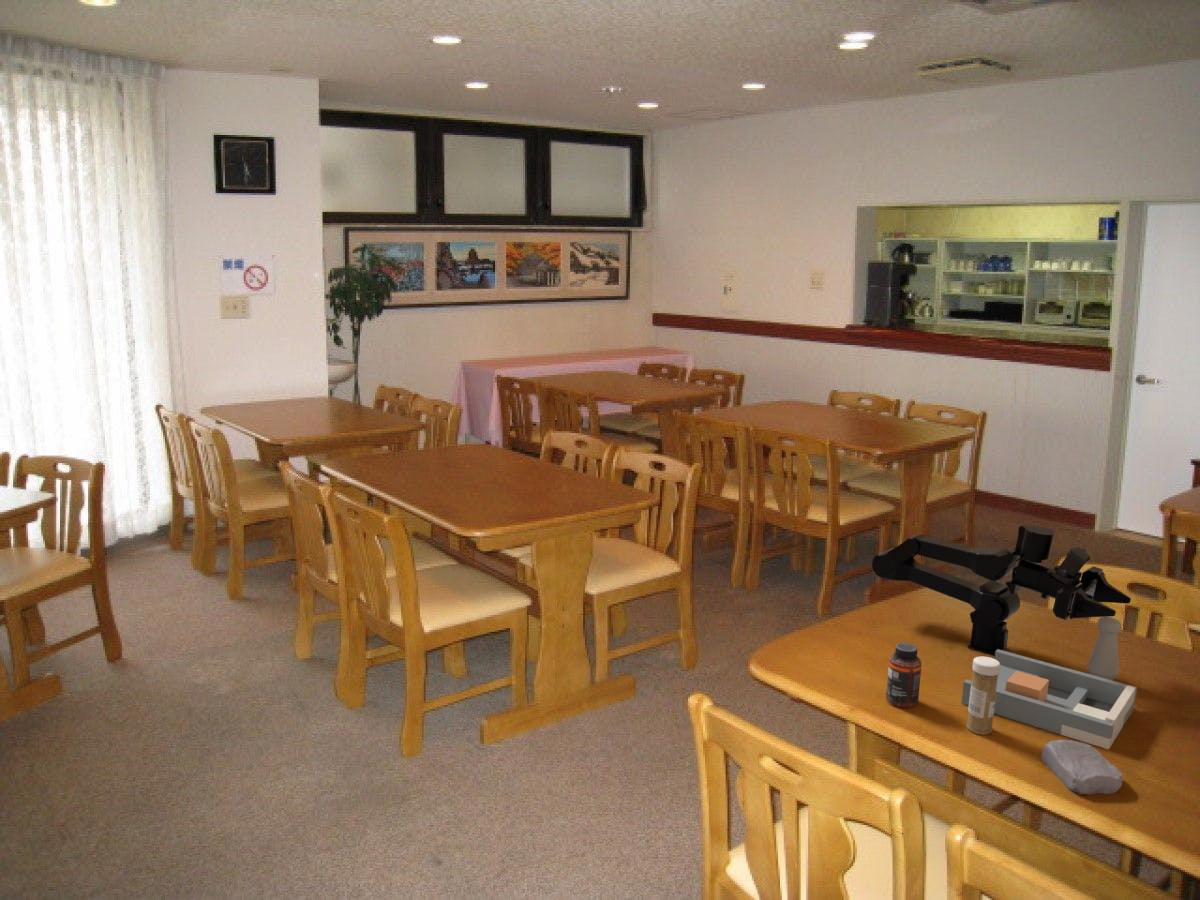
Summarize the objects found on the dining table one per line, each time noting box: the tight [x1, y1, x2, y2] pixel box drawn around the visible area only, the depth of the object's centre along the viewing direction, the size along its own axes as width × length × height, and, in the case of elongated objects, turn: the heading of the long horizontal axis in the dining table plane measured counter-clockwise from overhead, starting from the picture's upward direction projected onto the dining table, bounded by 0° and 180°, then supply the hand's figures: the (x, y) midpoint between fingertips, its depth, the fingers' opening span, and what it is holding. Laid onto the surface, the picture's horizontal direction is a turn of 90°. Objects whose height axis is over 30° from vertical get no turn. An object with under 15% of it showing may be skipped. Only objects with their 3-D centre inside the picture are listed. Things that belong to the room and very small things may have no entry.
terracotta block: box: [1005, 671, 1049, 702], centre depth 191 cm, size 6×6×4 cm
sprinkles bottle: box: [965, 655, 1000, 735], centre depth 183 cm, size 5×5×13 cm
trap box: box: [960, 649, 1138, 750], centre depth 193 cm, size 26×20×5 cm
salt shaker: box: [1086, 616, 1122, 681], centre depth 205 cm, size 6×6×13 cm
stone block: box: [1041, 739, 1124, 796], centre depth 169 cm, size 12×5×10 cm
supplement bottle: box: [885, 642, 922, 709], centre depth 193 cm, size 6×6×11 cm
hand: (1122, 607), depth 199 cm, fingers open, 9 cm apart
